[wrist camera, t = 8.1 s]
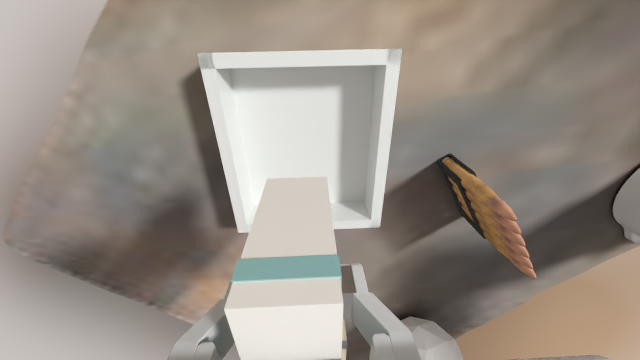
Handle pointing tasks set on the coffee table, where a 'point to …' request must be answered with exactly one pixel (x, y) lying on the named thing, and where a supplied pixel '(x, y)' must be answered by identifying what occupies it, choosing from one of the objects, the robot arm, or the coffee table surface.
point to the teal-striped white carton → (288, 277)
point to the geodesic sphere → (432, 340)
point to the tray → (305, 125)
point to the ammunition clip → (486, 212)
